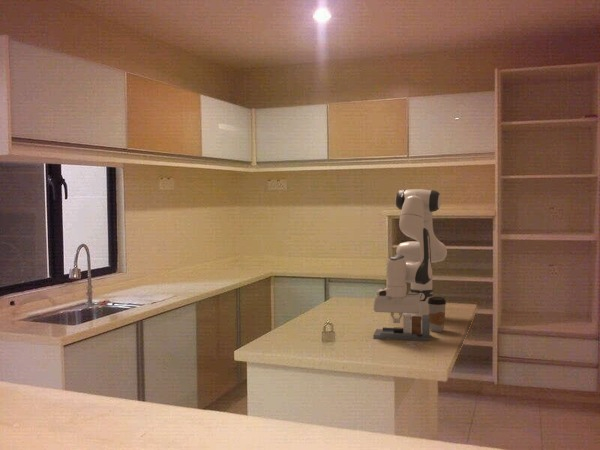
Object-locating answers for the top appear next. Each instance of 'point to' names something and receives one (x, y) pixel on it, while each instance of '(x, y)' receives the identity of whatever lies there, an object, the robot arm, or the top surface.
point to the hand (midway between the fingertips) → (396, 322)
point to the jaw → (405, 325)
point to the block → (416, 325)
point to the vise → (389, 333)
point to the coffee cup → (437, 313)
